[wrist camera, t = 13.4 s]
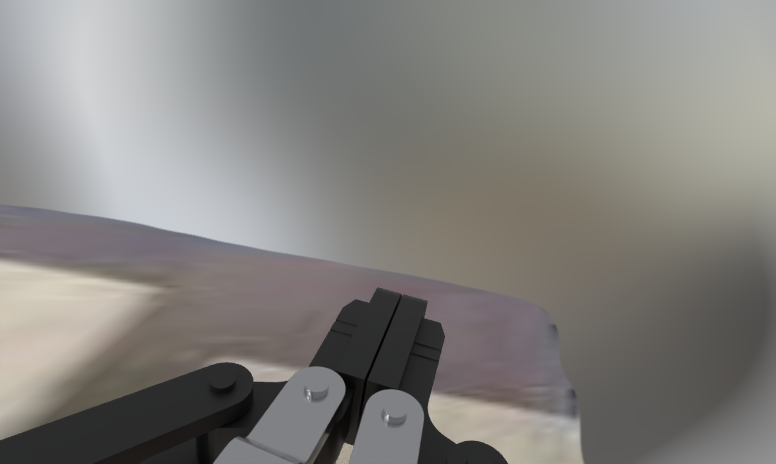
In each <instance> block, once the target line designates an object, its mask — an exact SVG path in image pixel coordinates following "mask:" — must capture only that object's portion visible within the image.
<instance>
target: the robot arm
mask: <svg viewBox="0 0 776 464" xmlns="http://www.w3.org/2000/svg"><path fill="white" fill-rule="evenodd" d="M427 302H428V301H426V300H422V299H418V298H415V297H411V296H408V295H403V296H402V294H400V293H396V292H393V291H389V290H385V289H382V288H377V289H376V291H375V293H374V295H373V297H372V299H371V301H370V303H367V302H364V301H360V300H356V299H355V300H354V301H352V302H351V303H349V304H348V305H346V306H345V307H343V308H342V310H341V312H340V314H339V315H338V317H337V319H336V322H334V324H333V326H332V327H331V329H330V332H329V333H328V334H327V336H326V338H325V340H324V341H323V343H322V345H321V346H320V348H319V350H318V352H317V353H316V355H315V357H314V359H313V360H312V362H311V364H310V365H309V367H308V368H304V369H301V370H299V371H298V372H296V373H295V374H294V375H293V376H292V377H291V378H290V379H289V380H288V381H284V382H253V377H252V374H251V373H250V372H249V370H248V369H246V368H245V367H243V366H242V365H239V364H235V363H228V362H226V363H217V364H214V365H211V366H208V367H205V368H202V369H199V370H197V371H194V372H191V373H188V374H185V375H182V376H180V377H177V378H174V379H171V380H168V381H166V382H163V383H160V384H157V385H154V386H152V387H149V388H146V389H143V390H140V391H138V392H135V393H132V394H129V395H126V396H124V397H121V398H118V399H115V400H112V401H110V402H107V403H104V404H101V405H98V406H96V407H93V408H90V409H87V410H84V411H82V412H79V413H76V414H73V415H70V416H68V417H65V418H62V419H59V420H56V421H54V422H51V423H48V424H45V425H42V426H40V427H37V428H34V429H31V430H28V431H26V432H23V433H20V434H17V435H14V436H12V437H9V438H6V439H3V440H0V464H335V463H336V460H337V458H338V456H339V454H340V451H341V449H342V447H343V444H344V443H347V444H350V445H354V447H353V451H352V454H351V457H350V461H349V464H508V463H507V461H506V460H505V458H504V457H503V456H502V455H501V454H500V453H499V452H498V451H497V450H496V449H494V448H493V447H491V446H490V445H488V444H485V443H483V442H479V441H464V442H461V443H458V444H456V443H454V442H453V441H451V440H450V439H448V438H447V437H445V436H444V435H443V434H441V433H440V432H439V431H438V430H437V429H436V428H435V426H434V425H433V423H432V422H431V420H430V417H429V414H428V402H429V398H430V394H431V390H432V386H433V382H434V378H435V374H436V370H437V366H438V362H439V358H440V354H441V350H442V346H443V342H444V338H445V335H444V332H443V329H442V326H441V323H439V322H435V321H432V320H428V319H424V316H425V312H426V307H427Z"/></svg>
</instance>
